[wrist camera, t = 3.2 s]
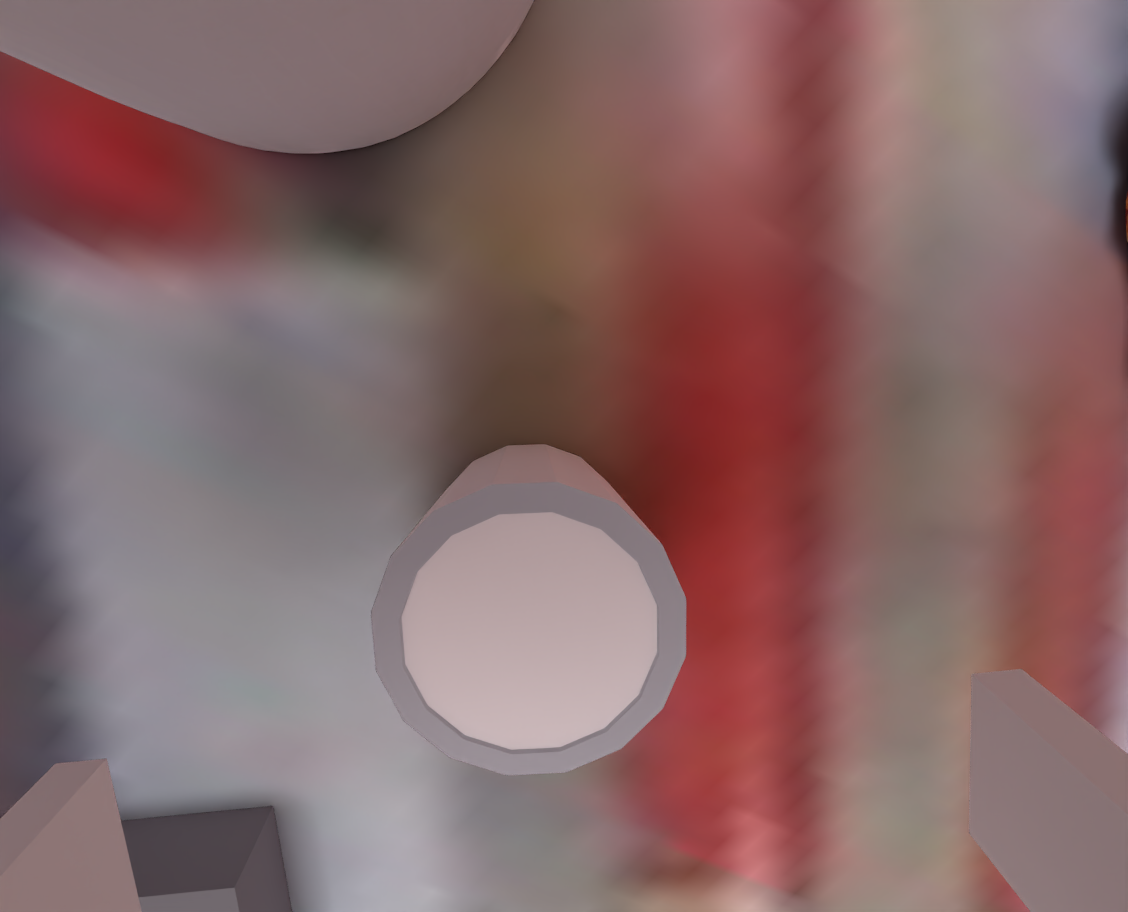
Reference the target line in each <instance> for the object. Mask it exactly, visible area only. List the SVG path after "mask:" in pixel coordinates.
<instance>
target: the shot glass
mask: <svg viewBox="0 0 1128 912" xmlns="http://www.w3.org/2000/svg"><path fill="white" fill-rule="evenodd" d="M371 620H372V631H373V643H374V654H375V666H376V672H377V674H378V675H379V677H380V679H381V681H382V683H383V684H384V686H385V688H386V690H387V692H388V693H389V695H390V697H391V699H392V701H393V702H394V704H395V706H396V708H397V710H398V712H399V713H400V715H401V717H402V719H403V721H404V722H405V723H407V724H408V725H409V726H410V727H412V728H413V729H414V730H415V731H417V732H418V733H419V734H420V735H422V736H423V737H424V738H425V739H427V740H428V741H429V742H431V743H432V744H433V745H434V746H436V747H437V748H438V749H439V750H441V751H442V752H443V753H444V754H446V755H447V756H448V757H449V758H452V759H455V760H458V761H461V762H465V763H468V764H471V765H474V766H478V767H481V768H484V769H487V770H491V771H494V772H497V773H500V774H503V775H507V776H508V775H527V774H546V773H564V772H569V771H571V770H573V769H576V768H578V767H580V766H583V765H585V764H587V763H590V762H592V761H594V760H597V759H599V758H601V757H604V756H606V755H608V754H611V753H613V752H615V751H618V750H620V749H622V748H623V747H624V746H625V745H626V744H627V743H628V742H629V741H630V740H631V739H632V738H633V737H634V736H635V735H636V734H637V733H638V732H639V731H640V730H641V729H642V728H643V727H644V726H645V725H646V724H647V723H648V722H649V721H651V720H652V719H653V718H654V717H655V716H656V715H657V714H658V713H659V712H660V711H661V710H662V709H663V707H664V705H665V703H666V700H667V698H668V696H669V694H670V691H671V689H672V687H673V684H674V682H675V680H676V678H677V675H678V673H679V671H680V668H681V666H682V664H683V662H684V659H685V657H686V597H685V595H684V592H683V590H682V588H681V586H680V583H679V581H678V579H677V577H676V574H675V572H674V570H673V568H672V565H671V563H670V561H669V559H668V556H667V554H666V552H665V550H664V547H663V545H662V544H661V543H660V541H659V540H658V539H657V538H656V537H655V536H654V534H653V533H652V532H651V531H650V530H649V529H648V528H647V526H646V525H645V524H644V523H643V522H642V521H641V520H640V518H639V517H638V516H637V515H636V514H635V513H634V512H633V510H632V509H631V508H630V507H629V506H628V505H627V504H626V502H625V501H624V500H623V499H622V498H621V497H620V495H619V494H618V493H617V492H616V491H615V490H614V489H613V487H612V486H611V485H610V484H609V483H608V482H607V481H606V480H605V479H604V478H603V477H602V476H601V475H600V474H599V473H597V472H596V471H595V470H594V469H593V468H592V467H591V466H590V465H589V464H588V463H587V462H585V461H584V460H583V459H582V458H581V457H579V456H577V455H574V454H571V453H568V452H566V451H563V450H560V449H557V448H555V447H552V446H549V445H546V444H533V445H507V446H505V447H503V448H501V449H498V450H496V451H494V452H492V453H489V454H487V455H485V456H483V457H481V458H478V459H476V460H474V461H472V462H471V463H470V465H469V466H468V467H467V468H466V469H465V470H464V471H463V472H462V473H461V474H460V475H459V476H458V477H457V478H456V480H455V481H454V482H453V483H452V484H451V485H450V486H449V487H448V488H447V489H446V490H445V492H444V493H443V494H442V495H441V496H440V498H439V499H438V500H437V501H436V502H435V504H434V505H433V506H432V507H431V508H430V510H429V511H428V512H427V513H426V514H425V516H424V517H423V518H422V519H421V521H420V522H419V523H418V524H417V525H416V527H415V528H414V529H413V530H412V531H411V533H410V534H409V535H408V536H407V537H406V539H405V540H404V541H403V542H402V543H401V545H400V546H399V547H398V548H397V549H396V551H395V552H394V553H393V554H392V555H391V557H390V560H389V563H388V566H387V568H386V571H385V574H384V577H383V580H382V583H381V585H380V588H379V591H378V594H377V597H376V600H375V602H374V605H373V608H372V611H371Z"/></svg>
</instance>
